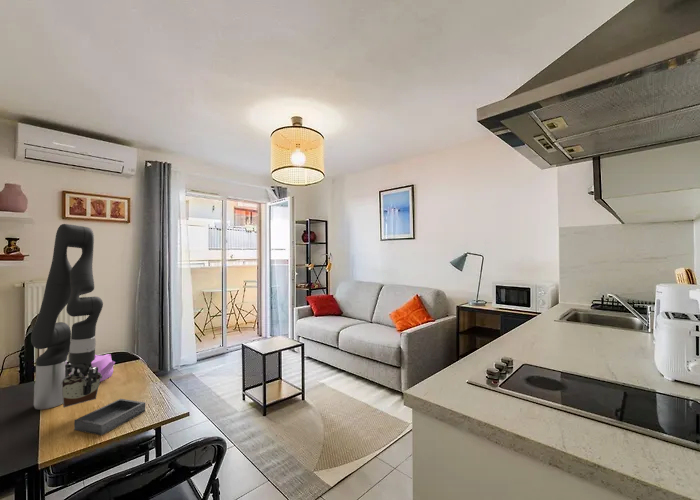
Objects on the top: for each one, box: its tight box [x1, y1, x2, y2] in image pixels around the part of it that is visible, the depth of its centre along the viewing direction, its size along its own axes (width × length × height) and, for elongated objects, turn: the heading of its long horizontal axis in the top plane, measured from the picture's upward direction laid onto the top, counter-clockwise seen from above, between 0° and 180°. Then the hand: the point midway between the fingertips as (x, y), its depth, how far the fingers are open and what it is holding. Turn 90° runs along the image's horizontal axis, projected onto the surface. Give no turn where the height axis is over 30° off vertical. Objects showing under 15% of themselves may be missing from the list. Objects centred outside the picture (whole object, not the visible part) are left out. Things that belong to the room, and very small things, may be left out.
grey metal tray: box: [73, 398, 146, 436], centre depth 116 cm, size 12×17×4 cm
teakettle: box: [69, 353, 116, 383], centre depth 152 cm, size 17×17×12 cm
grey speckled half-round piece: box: [60, 372, 102, 409], centre depth 118 cm, size 12×6×10 cm, turn 141°
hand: (80, 392), depth 118 cm, fingers closed on grey speckled half-round piece, 6 cm apart
